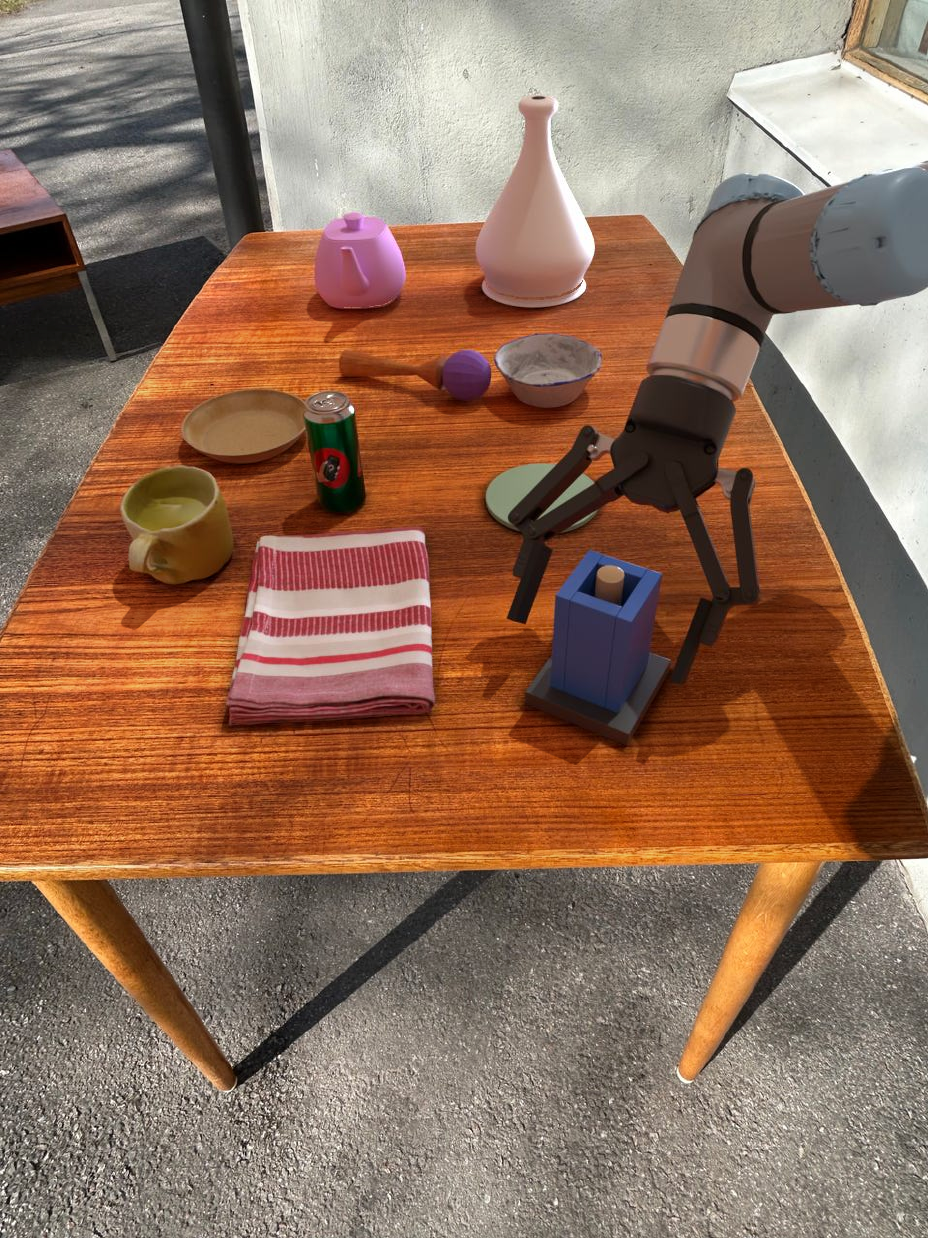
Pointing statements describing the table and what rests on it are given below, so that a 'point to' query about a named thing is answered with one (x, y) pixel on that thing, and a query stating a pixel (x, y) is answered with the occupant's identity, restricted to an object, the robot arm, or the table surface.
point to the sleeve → (603, 633)
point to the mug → (177, 525)
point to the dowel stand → (589, 713)
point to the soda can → (334, 451)
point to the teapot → (358, 263)
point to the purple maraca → (428, 371)
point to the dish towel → (335, 629)
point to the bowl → (547, 368)
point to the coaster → (520, 483)
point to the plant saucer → (245, 425)
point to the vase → (535, 224)
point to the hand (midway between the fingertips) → (593, 651)
